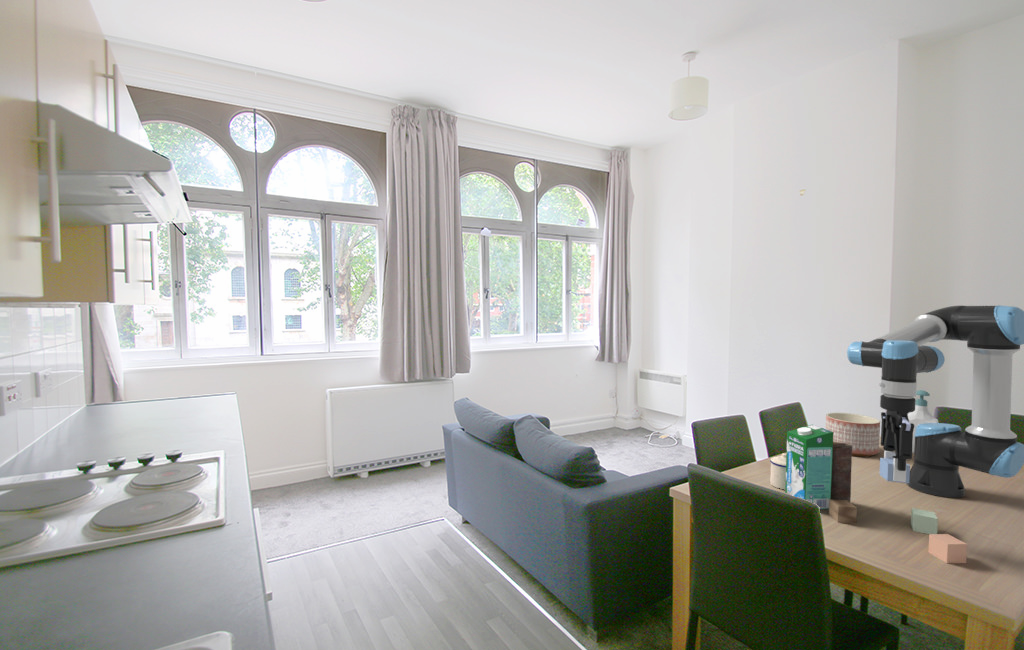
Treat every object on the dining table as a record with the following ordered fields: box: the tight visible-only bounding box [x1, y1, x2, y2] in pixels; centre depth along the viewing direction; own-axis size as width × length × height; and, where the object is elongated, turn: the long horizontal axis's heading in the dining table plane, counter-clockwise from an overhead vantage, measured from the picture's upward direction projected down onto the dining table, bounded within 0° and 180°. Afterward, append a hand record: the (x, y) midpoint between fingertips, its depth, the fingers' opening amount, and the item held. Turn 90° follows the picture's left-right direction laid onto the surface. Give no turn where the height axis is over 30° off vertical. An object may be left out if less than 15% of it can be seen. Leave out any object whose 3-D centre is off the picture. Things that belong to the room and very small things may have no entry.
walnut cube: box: [828, 499, 858, 525], centre depth 139 cm, size 5×5×5 cm
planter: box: [825, 412, 881, 457], centre depth 203 cm, size 19×19×15 cm
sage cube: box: [910, 507, 939, 535], centre depth 133 cm, size 5×5×5 cm
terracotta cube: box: [928, 533, 968, 564], centre depth 118 cm, size 5×5×5 cm
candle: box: [831, 442, 853, 503], centre depth 149 cm, size 8×7×20 cm
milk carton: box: [784, 424, 833, 510], centre depth 149 cm, size 9×9×25 cm
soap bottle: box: [908, 389, 939, 454], centre depth 201 cm, size 11×8×27 cm
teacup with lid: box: [769, 452, 787, 491], centre depth 165 cm, size 12×9×12 cm
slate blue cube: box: [878, 457, 911, 484], centre depth 130 cm, size 5×5×5 cm
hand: (894, 477), depth 130 cm, fingers closed on slate blue cube, 5 cm apart
